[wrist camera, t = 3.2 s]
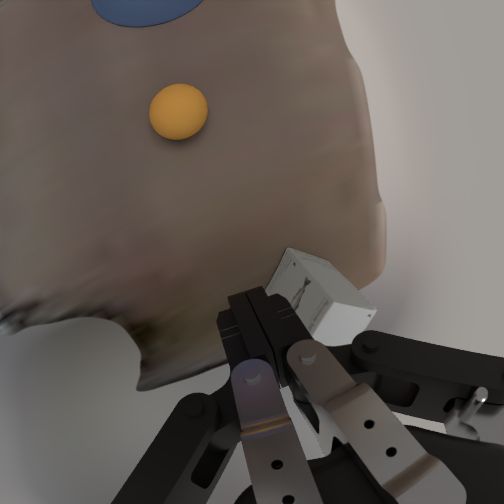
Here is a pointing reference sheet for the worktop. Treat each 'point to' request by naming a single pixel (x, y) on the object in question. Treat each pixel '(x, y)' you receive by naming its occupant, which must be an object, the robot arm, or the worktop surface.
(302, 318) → the supplement box
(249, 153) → the worktop surface
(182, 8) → the disc
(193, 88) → the ball
